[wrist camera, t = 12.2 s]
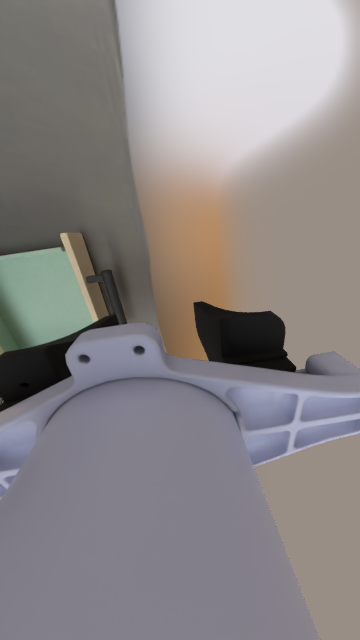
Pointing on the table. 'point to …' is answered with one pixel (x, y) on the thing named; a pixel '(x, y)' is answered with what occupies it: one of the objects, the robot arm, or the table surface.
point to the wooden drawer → (52, 294)
